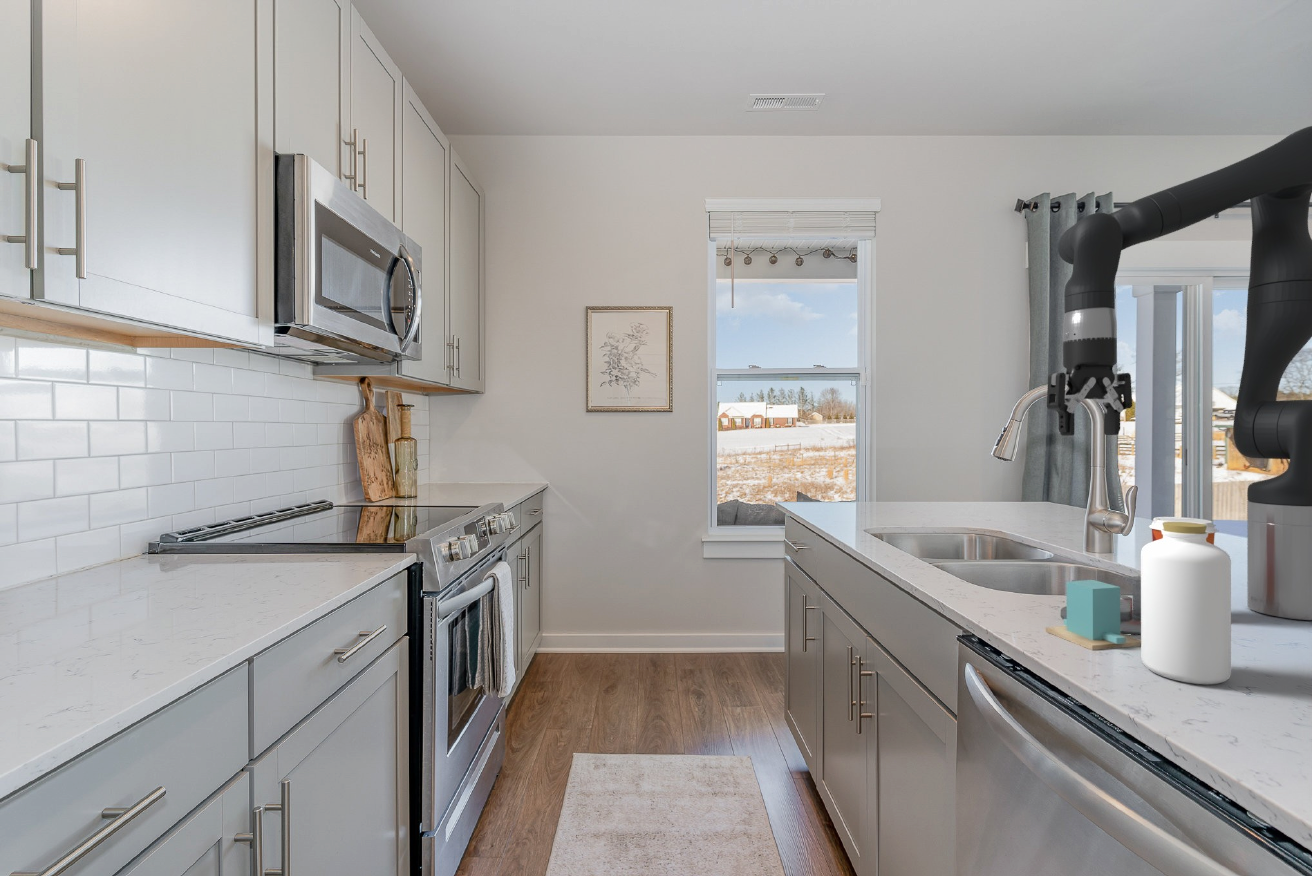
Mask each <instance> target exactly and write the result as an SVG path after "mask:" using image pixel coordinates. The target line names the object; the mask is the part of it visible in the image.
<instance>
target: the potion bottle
mask: <svg viewBox="0 0 1312 876" xmlns="http://www.w3.org/2000/svg"><path fill="white" fill-rule="evenodd" d="M1163 527H1164V529H1162V530H1161V532H1162V535H1163V539H1159V540H1156V541H1153V540H1152V541H1150V542H1148V543H1147V544H1145V545H1143V547H1142V548H1141V551H1140V576H1141V635H1140V640H1141V646H1140V651H1141V652H1140V654H1141V655H1140V656H1141V657H1140V659H1141V661H1142V663H1143V665H1144V667H1146V668H1147V669H1148V670H1149V671H1151V672H1152V673H1154V674H1156V675H1159V676H1161V677H1164V678H1167V679H1170V680H1173V681H1178V682H1181V683H1182V682H1183V683H1187V684H1196V685H1217V684H1221V683H1224V682H1226V681H1228V680H1229V678H1230V676H1231V675H1232V559H1231V556H1230V554H1228V552H1227V551H1225V550H1224V549H1222V548H1221V547H1219V546H1217V545H1215V544H1214V545H1213V544H1210V543H1208V542H1206V538H1207V537H1208V533H1207V532H1205V531H1206V527H1207V526H1206V525H1204V524H1198V523H1190V522H1163Z"/></svg>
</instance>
